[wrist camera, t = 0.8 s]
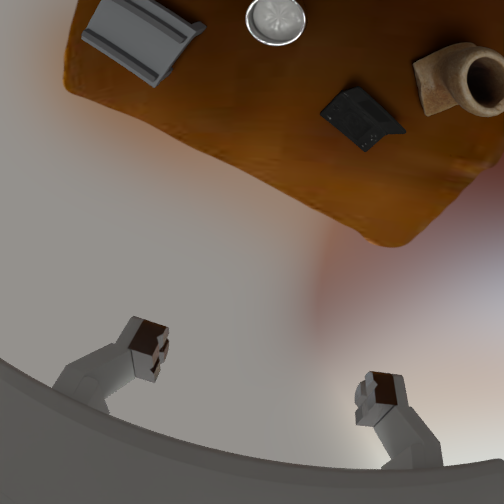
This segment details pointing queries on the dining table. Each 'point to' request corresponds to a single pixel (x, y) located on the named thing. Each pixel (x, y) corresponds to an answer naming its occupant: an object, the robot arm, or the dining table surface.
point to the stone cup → (461, 80)
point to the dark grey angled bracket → (360, 118)
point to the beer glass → (276, 21)
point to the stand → (140, 36)
